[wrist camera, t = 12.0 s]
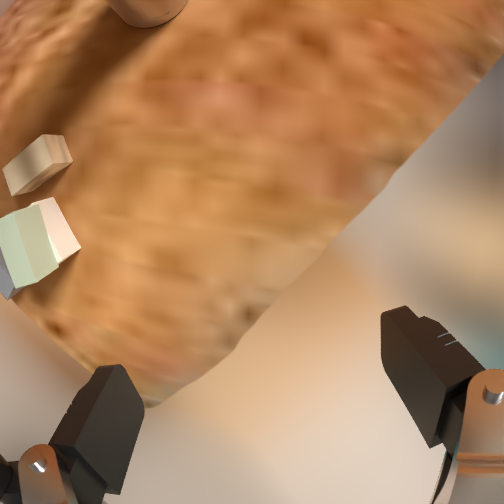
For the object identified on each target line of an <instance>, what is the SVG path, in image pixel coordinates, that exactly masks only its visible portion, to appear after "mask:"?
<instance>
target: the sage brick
mask: <svg viewBox="0 0 504 504" xmlns="http://www.w3.org/2000/svg"><path fill="white" fill-rule="evenodd" d="M0 247H1V250H2V253H3V256H4V259H5V262H6V265H7V268H8V270H9V273H10V276H11V278H12V281H13V283H14V286H15V288H20V287H23V286H26V285H30V284H33V283H37V282H38V281H40V280H41V279H42V278H44V277H45V276H47V275H48V274H50V273H51V272H52V271H54V270H55V269H57V268H58V267H59V265H58V263H57V260H56V257H55V254H54V252H53V249H52V246H51V243H50V240H49V237H48V233H47V230H46V227H45V224H44V220H43V217H42V214H41V210H40V206H39V204H36V205H33V206H30V207H26V208H23V209H20V210H17V211H14V212H12V213H10V214H8V215H6V216H4V217H2V218H0Z"/></svg>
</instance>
